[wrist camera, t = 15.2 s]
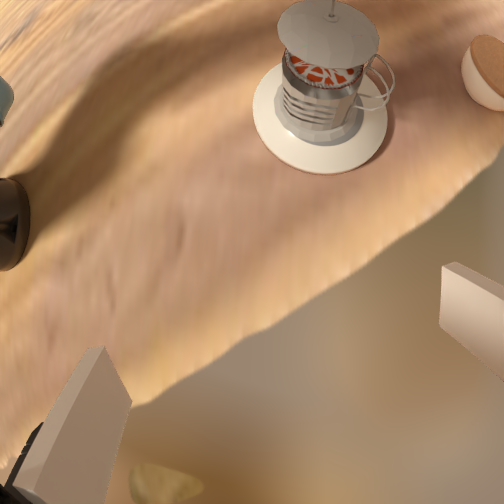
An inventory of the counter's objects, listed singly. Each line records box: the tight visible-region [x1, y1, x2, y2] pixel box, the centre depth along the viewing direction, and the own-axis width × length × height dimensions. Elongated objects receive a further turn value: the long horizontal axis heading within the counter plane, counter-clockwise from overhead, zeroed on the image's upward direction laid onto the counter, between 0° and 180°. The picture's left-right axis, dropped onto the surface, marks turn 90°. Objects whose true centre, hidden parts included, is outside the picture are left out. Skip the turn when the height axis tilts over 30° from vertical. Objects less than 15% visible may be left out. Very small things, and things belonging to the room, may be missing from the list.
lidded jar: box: [461, 35, 504, 111], centre depth 27 cm, size 11×11×9 cm
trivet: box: [253, 62, 388, 175], centre depth 34 cm, size 16×16×2 cm
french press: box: [274, 0, 396, 142], centre depth 20 cm, size 10×12×25 cm
